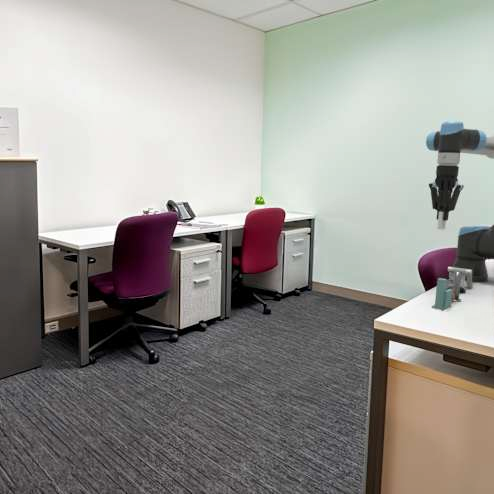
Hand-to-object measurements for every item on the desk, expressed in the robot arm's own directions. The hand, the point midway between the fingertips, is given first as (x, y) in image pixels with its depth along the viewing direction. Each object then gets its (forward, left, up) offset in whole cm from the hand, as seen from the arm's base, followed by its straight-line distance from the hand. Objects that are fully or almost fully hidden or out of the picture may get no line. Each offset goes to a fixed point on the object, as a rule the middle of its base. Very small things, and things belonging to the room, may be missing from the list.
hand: (441, 228), depth 177 cm
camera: (-8, +3, -25) cm, 27 cm away
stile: (+19, +10, -24) cm, 32 cm away
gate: (+14, +10, -24) cm, 29 cm away
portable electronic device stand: (-16, +4, -25) cm, 30 cm away
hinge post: (+6, +10, -24) cm, 27 cm away
